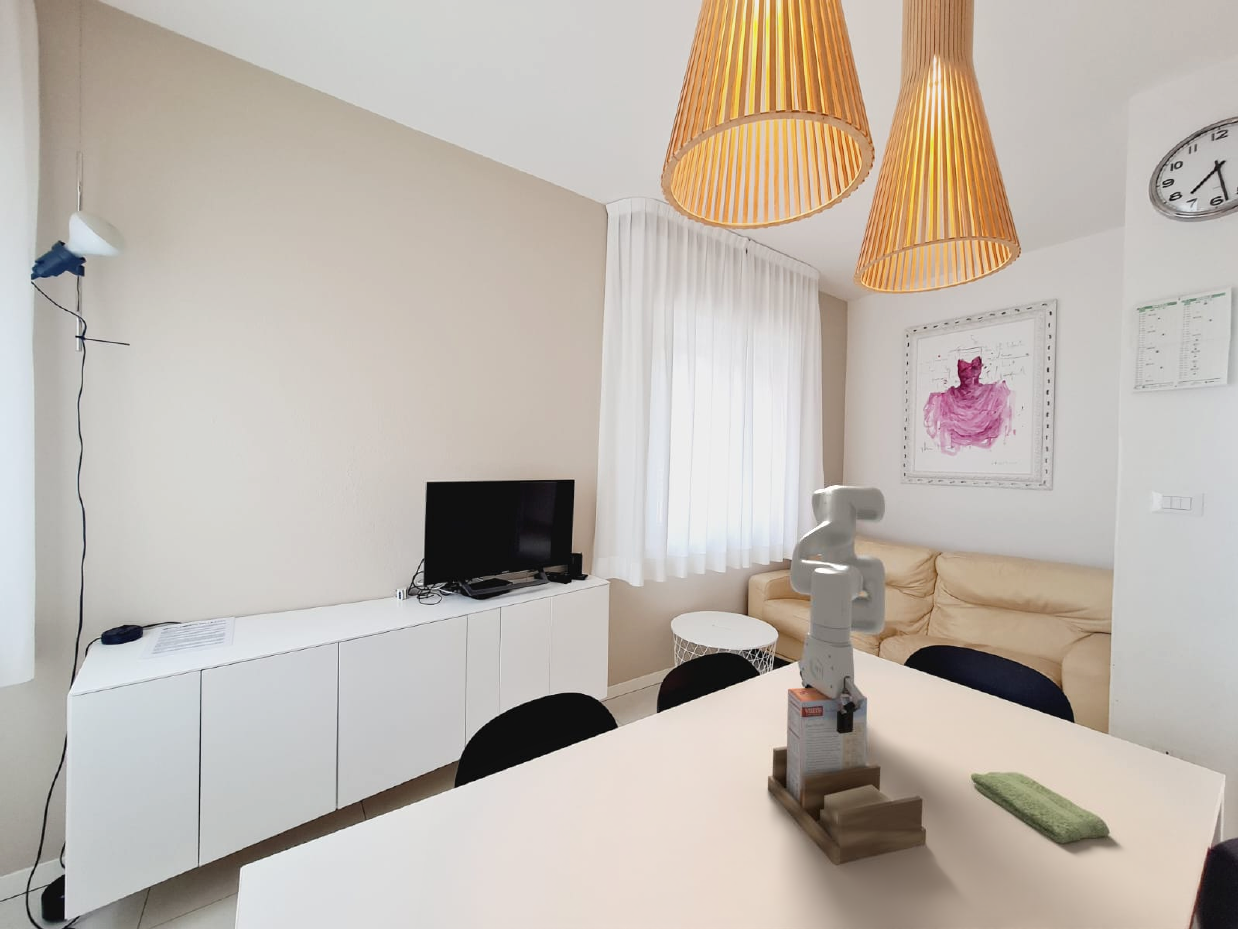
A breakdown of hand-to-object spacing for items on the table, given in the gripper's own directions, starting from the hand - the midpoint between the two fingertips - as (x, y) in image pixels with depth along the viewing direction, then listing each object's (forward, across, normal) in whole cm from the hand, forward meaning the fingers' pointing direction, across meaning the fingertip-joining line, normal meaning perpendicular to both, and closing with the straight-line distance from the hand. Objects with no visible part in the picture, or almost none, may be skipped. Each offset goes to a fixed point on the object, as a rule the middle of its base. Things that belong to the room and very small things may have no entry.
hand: (826, 719), depth 95 cm
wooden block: (+16, +9, 0) cm, 18 cm away
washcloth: (+16, +12, +40) cm, 44 cm away
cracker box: (+16, 0, 0) cm, 16 cm away
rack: (+16, +4, 0) cm, 16 cm away
